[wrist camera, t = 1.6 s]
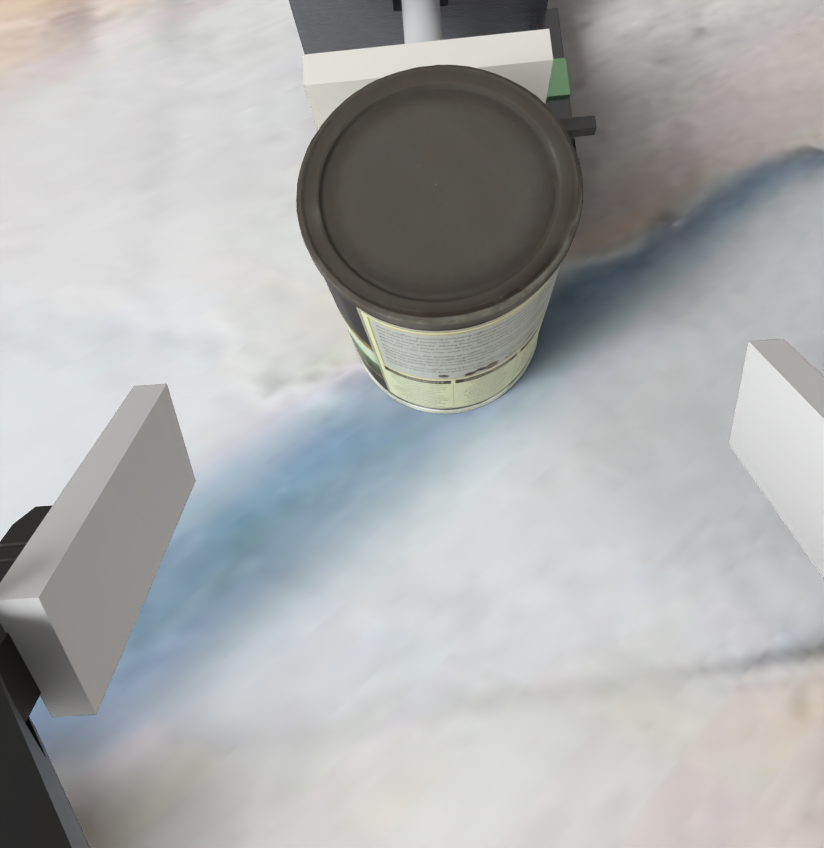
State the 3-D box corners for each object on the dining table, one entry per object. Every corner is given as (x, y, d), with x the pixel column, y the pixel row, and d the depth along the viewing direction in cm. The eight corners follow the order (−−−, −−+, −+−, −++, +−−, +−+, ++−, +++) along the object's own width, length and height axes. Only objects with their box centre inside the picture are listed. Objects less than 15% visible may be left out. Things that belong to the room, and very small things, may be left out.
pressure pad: (586, 170, 39) (622, 52, 30) (337, 194, 40) (303, 85, 31) (564, 4, 42) (592, -149, 33) (330, 29, 42) (296, -114, 34)
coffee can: (315, 346, 39) (237, 219, 25) (426, 208, 41) (409, 16, 27) (466, 454, 37) (469, 380, 24) (577, 305, 39) (641, 153, 25)
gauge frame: (574, 229, 40) (616, 99, 29) (317, 253, 40) (265, 134, 30) (542, -22, 43) (569, -220, 33) (307, 4, 44) (258, -181, 33)
